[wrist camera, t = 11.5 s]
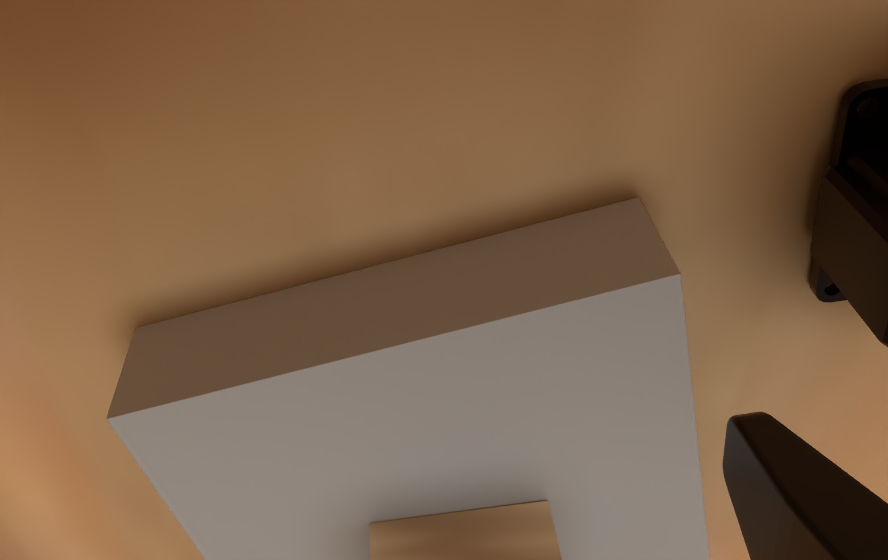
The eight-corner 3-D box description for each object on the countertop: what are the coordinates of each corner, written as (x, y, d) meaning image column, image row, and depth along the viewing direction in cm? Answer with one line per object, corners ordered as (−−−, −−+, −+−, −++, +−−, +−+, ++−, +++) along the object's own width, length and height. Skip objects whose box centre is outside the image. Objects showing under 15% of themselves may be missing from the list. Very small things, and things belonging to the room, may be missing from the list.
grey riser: (633, 187, 23) (680, 273, 19) (684, 572, 33) (720, 669, 30) (139, 315, 24) (106, 419, 20) (341, 650, 34) (340, 752, 31)
